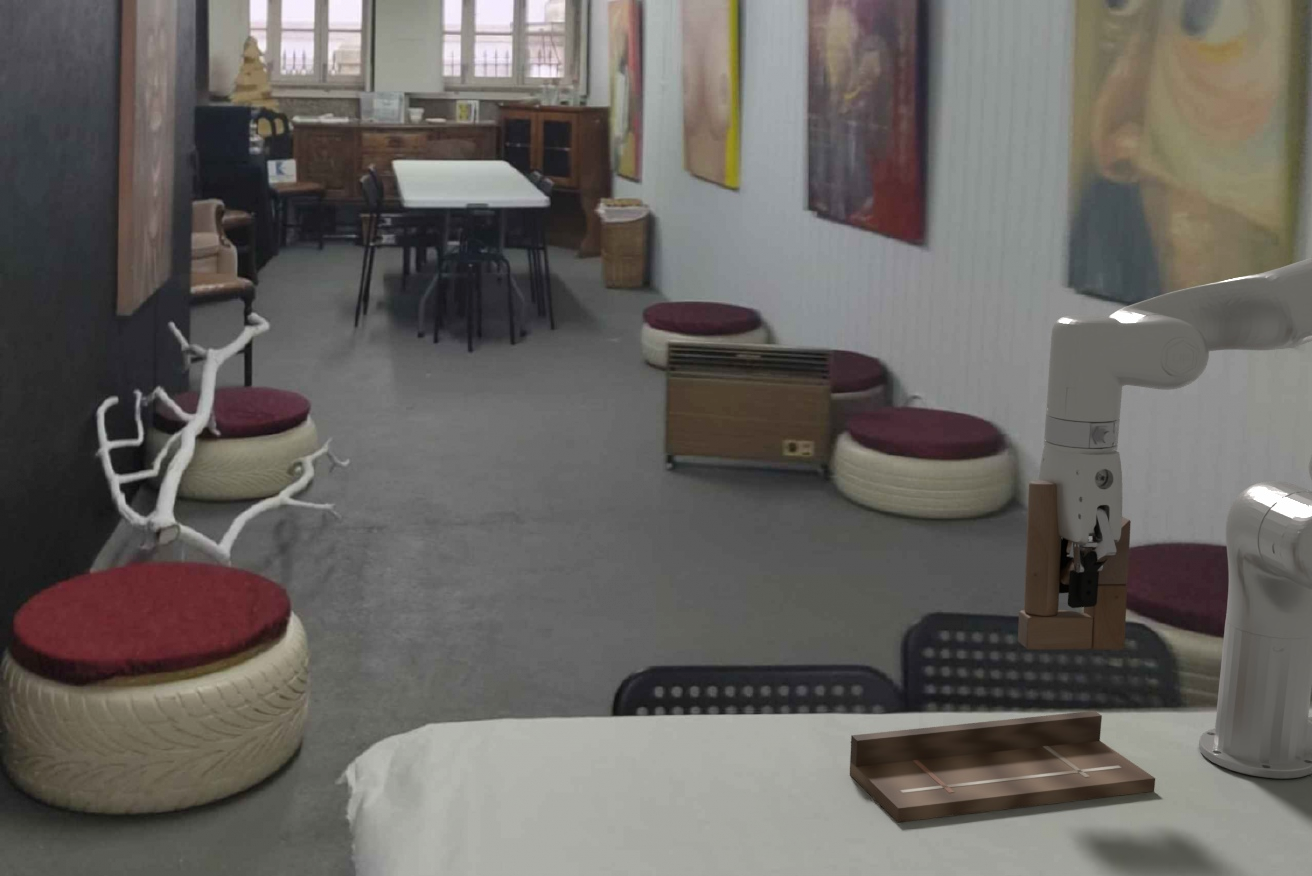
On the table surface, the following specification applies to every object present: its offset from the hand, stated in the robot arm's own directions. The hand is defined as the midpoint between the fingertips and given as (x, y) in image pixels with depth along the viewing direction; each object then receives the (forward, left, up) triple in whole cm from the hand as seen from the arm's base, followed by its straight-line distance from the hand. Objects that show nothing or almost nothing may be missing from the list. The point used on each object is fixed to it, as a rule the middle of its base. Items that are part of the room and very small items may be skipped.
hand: (1069, 597), depth 160 cm
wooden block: (0, +1, -6) cm, 6 cm away
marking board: (+8, +2, -20) cm, 21 cm away
